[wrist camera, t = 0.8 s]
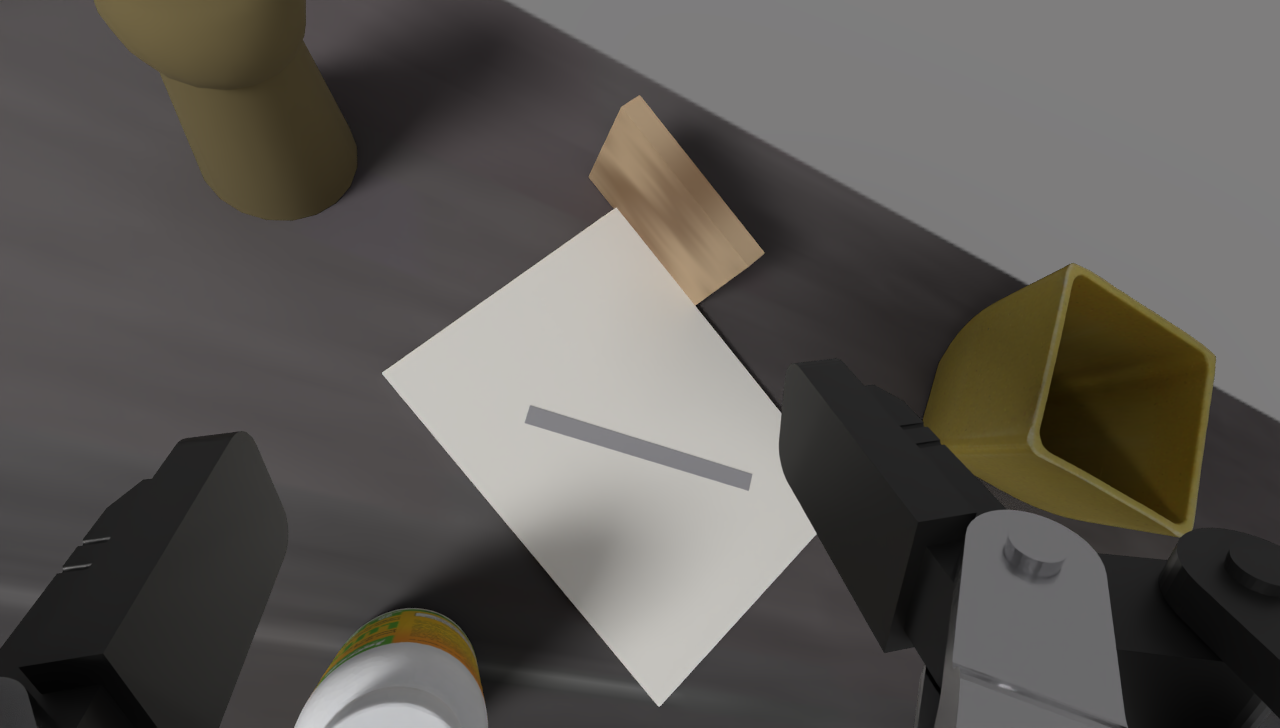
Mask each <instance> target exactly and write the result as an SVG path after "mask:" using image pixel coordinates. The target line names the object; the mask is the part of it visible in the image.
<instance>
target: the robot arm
mask: <svg viewBox="0 0 1280 728" xmlns="http://www.w3.org/2000/svg"><path fill="white" fill-rule="evenodd" d="M779 456H780V462H781V466H782V470H783V473H784V476H785V478H786V480H787V482H788V484H789V486H790V487H791V489H792V491H793V493H794V495H795V496H796V498H797V500H798V502H799V503H800V505H801V507H802V509H803V510H804V512H805V514H806V516H807V517H808V519H809V521H810V523H811V525H812V526H813V528H814V530H815V532H816V533H817V535H818V537H819V539H820V540H821V542H822V544H823V546H824V547H825V549H826V551H827V553H828V555H829V556H830V558H831V560H832V562H833V563H834V565H835V567H836V569H837V570H838V572H839V574H840V576H841V577H842V579H843V581H844V583H845V585H846V586H847V588H848V590H849V592H850V593H851V595H852V597H853V599H854V600H855V602H856V604H857V606H858V608H859V609H860V611H861V613H862V615H863V616H864V618H865V620H866V622H867V623H868V625H869V627H870V629H871V630H872V632H873V634H874V636H875V638H876V639H877V641H878V643H879V645H880V646H881V648H882V650H883V652H884V653H887V652H892V651H897V650H902V649H907V648H912V647H915V649H916V650H917V652H918V654H919V655H920V657H921V658H922V660H923V662H924V663H925V664H924V667H923V671H922V674H921V678H920V684H919V691H918V698H917V705H916V711H915V718H914V725H913V728H1258V727H1259V726H1260V725H1261V724H1262V722H1263V721H1264V720H1265V719H1266V717H1267V716H1268V715H1269V714H1270V712H1271V711H1273V712H1274V713H1275V714H1276V715H1277V716H1278V717H1279V718H1280V546H1278V545H1276V544H1274V543H1271V542H1269V541H1267V540H1264V539H1261V538H1259V537H1256V536H1253V535H1250V534H1246V533H1242V532H1238V531H1233V530H1228V529H1220V528H1201V529H1196V530H1192V531H1189V532H1187V533H1185V534H1184V535H1183V536H1182V537H1180V539H1179V541H1178V543H1177V544H1176V546H1175V548H1174V550H1173V552H1172V554H1171V555H1170V557H1169V559H1168V560H1161V559H1150V558H1140V557H1130V556H1120V555H1109V554H1099V553H1096V552H1095V550H1094V549H1093V548H1092V547H1091V546H1090V545H1089V544H1088V543H1087V542H1086V541H1085V540H1084V539H1082V538H1081V537H1080V536H1079V535H1077V534H1076V533H1074V532H1073V531H1071V530H1070V529H1068V528H1067V527H1065V526H1063V525H1061V524H1059V523H1057V522H1055V521H1053V520H1050V519H1048V518H1045V517H1043V516H1039V515H1036V514H1033V513H1028V512H1024V511H1017V510H1007V509H1006V508H1005V507H1004V506H1003V505H1002V504H1001V503H1000V502H999V501H998V500H997V499H996V498H995V497H994V496H993V495H992V494H991V493H990V491H989V490H988V489H987V488H986V487H985V486H984V485H983V484H982V483H981V482H980V481H979V480H978V479H977V478H976V477H975V476H974V475H973V474H972V473H971V472H970V470H969V469H968V468H967V467H966V466H965V465H964V464H963V463H962V462H961V461H960V460H959V459H958V458H957V457H956V456H955V455H954V454H953V453H952V452H951V451H950V449H949V448H948V447H947V446H946V445H941V443H940V439H939V438H938V437H937V436H936V435H935V434H934V433H933V432H932V431H931V430H930V428H929V427H924V422H923V421H922V420H921V419H920V418H919V417H918V416H917V415H916V414H915V413H914V412H913V411H912V410H911V409H910V407H909V406H908V405H907V404H906V403H905V402H904V401H902V400H900V399H899V398H897V397H895V396H893V395H892V394H890V393H888V392H886V391H884V390H883V389H881V388H879V387H877V386H875V385H868V386H864V385H863V384H862V383H861V382H860V381H859V380H858V378H857V377H856V376H855V375H854V374H853V373H852V372H851V371H850V369H849V368H848V367H847V366H846V365H845V364H844V363H843V362H842V361H841V360H839V359H836V358H835V359H827V360H819V361H811V362H803V363H795V364H791V365H789V367H788V369H787V371H786V375H785V383H784V393H783V403H782V414H781V424H780V434H779ZM287 543H288V524H287V518H286V514H285V511H284V508H283V506H282V504H281V501H280V499H279V497H278V494H277V492H276V490H275V487H274V485H273V483H272V480H271V478H270V476H269V473H268V471H267V469H266V466H265V464H264V462H263V459H262V457H261V455H260V452H259V450H258V447H257V445H256V443H255V441H254V440H253V438H252V437H251V436H250V435H249V434H248V433H246V432H243V431H241V432H232V433H224V434H216V435H208V436H200V437H192V438H185V439H182V440H181V441H179V442H178V443H177V445H176V446H175V447H174V449H173V450H172V451H171V453H170V454H169V456H168V457H167V458H166V460H165V461H164V463H163V464H162V465H161V467H160V468H159V470H158V471H157V472H156V474H155V475H154V477H153V478H152V479H146V480H142V481H141V482H140V483H138V484H137V485H136V486H135V487H133V488H132V489H131V490H130V491H128V492H127V493H126V494H124V495H123V496H122V497H121V498H119V499H118V500H117V501H115V502H114V503H113V504H112V505H110V506H109V507H108V508H106V510H105V511H104V512H103V514H102V515H101V516H100V518H99V519H98V520H97V522H96V523H95V524H94V526H93V527H92V528H91V530H90V531H89V532H88V534H87V535H86V536H85V537H84V539H83V546H78V547H77V548H76V549H75V551H74V552H73V553H72V555H71V556H70V557H69V559H68V560H67V561H66V563H65V564H64V565H63V572H62V573H59V574H57V575H56V576H55V577H54V578H53V580H52V581H51V582H50V584H49V585H48V586H47V588H46V589H45V590H44V592H43V593H42V594H41V596H40V597H39V598H38V600H37V601H36V602H35V604H34V605H33V606H32V608H31V609H30V610H29V612H28V613H27V614H26V615H25V617H24V618H23V619H22V621H21V622H20V623H19V625H18V626H17V627H16V629H15V630H14V631H13V633H12V634H11V635H10V637H9V638H8V639H7V641H6V642H5V643H4V645H3V646H2V647H1V649H0V728H219V726H220V723H221V721H222V718H223V716H224V713H225V710H226V708H227V705H228V703H229V700H230V697H231V695H232V692H233V690H234V687H235V684H236V682H237V679H238V676H239V674H240V671H241V669H242V666H243V663H244V661H245V658H246V656H247V653H248V650H249V648H250V645H251V643H252V640H253V637H254V635H255V632H256V629H257V627H258V624H259V622H260V619H261V616H262V614H263V611H264V609H265V606H266V603H267V601H268V598H269V596H270V593H271V590H272V588H273V585H274V582H275V580H276V577H277V575H278V572H279V569H280V567H281V564H282V562H283V559H284V556H285V553H286V549H287Z"/></svg>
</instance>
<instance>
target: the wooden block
mask: <svg viewBox="0 0 1280 728" xmlns="http://www.w3.org/2000/svg"><path fill="white" fill-rule="evenodd" d="M589 178H590V180H591V181H592V182H593V183H594V185H595V186H596V187H597V188H598V190H599V191H600V192H601V193H602V195H603V196H604V197H605V198H606V200H607V201H608V202H609V203H610V205H611V206H612V207H613V208H614V209H615V208H616V207H617V209H618V210H619V211H620V212H621V214H622V215H623V216H624V217H625V219H626V220H627V221H628V222H629V224H630V225H631V226H632V227H633V229H634V230H635V231H636V232H637V234H638V235H639V236H640V237H641V239H642V240H643V241H644V242H645V244H646V245H647V246H648V247H649V249H650V250H651V251H652V252H653V254H654V255H655V256H656V257H657V259H658V260H659V261H660V262H661V264H662V265H663V266H664V267H665V269H666V270H667V271H668V272H669V274H670V275H671V276H672V277H673V279H674V280H675V281H676V282H677V284H678V285H679V286H680V287H681V289H682V290H683V291H684V292H685V294H686V295H687V296H688V297H689V299H690V300H691V301H692V302H693V304H694V305H697V304H698V303H700V302H701V301H702V300H704V299H705V298H706V297H708V296H709V295H711V294H712V293H713V292H715V291H716V290H717V289H719V288H720V287H721V286H723V285H724V284H726V283H727V282H728V281H730V280H731V279H732V278H734V277H735V276H737V275H738V274H739V273H741V272H742V271H743V270H745V269H746V268H747V267H749V266H750V265H751V264H752V263H754V262H755V261H756V260H757V259H758V258H760V257H761V256H762V255H763V254H764V251H763V250H762V249H761V248H760V246H759V245H758V244H757V242H756V241H755V240H754V239H753V237H752V236H751V235H750V234H749V232H748V231H747V230H746V229H745V227H744V226H743V225H742V224H741V222H740V221H739V220H738V219H737V217H736V216H735V215H734V213H733V212H732V211H731V210H730V208H729V207H728V206H727V205H726V203H725V202H724V201H723V200H722V198H721V197H720V196H719V195H718V193H717V192H716V191H715V189H714V188H713V187H712V186H711V184H710V183H709V182H708V181H707V179H706V178H705V177H704V176H703V174H702V173H701V172H700V171H699V169H698V168H697V167H696V165H695V164H694V163H693V162H692V160H691V159H690V158H689V157H688V155H687V154H686V153H685V152H684V150H683V149H682V148H681V147H680V145H679V144H678V143H677V141H676V140H675V139H674V138H673V136H672V135H671V134H670V133H669V131H668V130H667V129H666V128H665V126H664V125H663V124H662V123H661V121H660V120H659V119H658V118H657V116H656V115H655V114H654V112H653V111H652V110H651V109H650V107H649V106H648V105H647V104H646V102H645V101H644V100H643V99H642V97H641V96H640V95H639V96H638V97H636V98H634V99H633V100H631V101H630V102H628V103H627V104H625V105H624V106H622V107H621V109H620V111H619V113H618V115H617V117H616V119H615V121H614V124H613V126H612V128H611V130H610V132H609V134H608V136H607V139H606V141H605V143H604V145H603V147H602V149H601V151H600V153H599V156H598V158H597V160H596V162H595V164H594V166H593V168H592V171H591V173H590V175H589Z"/></svg>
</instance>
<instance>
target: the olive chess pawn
mask: <svg viewBox="0 0 1280 728" xmlns="http://www.w3.org/2000/svg"><path fill="white" fill-rule="evenodd" d="M94 2H95V5H96V8H97V11H98V13H99V14H100V16H101V17H102V18H103V20H104V21H105V22H106V24H107V25H108V26H109V28H110V29H111V30H112V31H113V32H114V34H115V35H116V36H117V37H118V38H119V40H120V41H121V42H122V43H123V44H124V45H125V47H126V48H127V49H128V50H129V51H130V52H131V53H133V54H134V55H135V56H137V57H138V58H139V59H141V60H142V61H143V62H145V63H146V64H148V65H149V66H151V67H152V68H154V69H156V70H157V71H159V72H160V75H161V77H162V79H163V82H164V84H165V87H166V89H167V91H168V94H169V96H170V99H171V101H172V103H173V106H174V108H175V111H176V113H177V115H178V118H179V120H180V123H181V125H182V127H183V130H184V132H185V135H186V137H187V139H188V142H189V144H190V147H191V149H192V151H193V154H194V156H195V158H196V161H197V163H198V166H199V168H200V170H201V173H202V175H203V178H204V180H205V181H206V183H207V184H208V185H209V186H210V187H211V188H212V190H213V191H214V192H215V193H216V194H217V196H218V197H219V198H220V199H221V200H223V201H225V202H226V203H228V204H229V205H231V206H232V207H234V208H236V209H237V210H239V211H240V212H242V213H246V214H249V215H252V216H256V217H259V218H262V219H266V220H296V219H300V218H304V217H308V216H312V215H316V214H318V213H320V212H321V211H323V210H325V209H326V208H328V207H330V206H331V205H333V204H335V203H336V202H337V201H338V200H339V199H340V198H341V197H342V195H343V194H344V193H345V192H346V191H347V190H348V188H349V187H350V186H351V183H352V180H353V177H354V175H355V172H356V169H357V146H356V143H355V141H354V138H353V136H352V133H351V131H350V128H349V126H348V124H347V122H346V120H345V118H344V117H343V115H342V113H341V111H340V109H339V107H338V105H337V103H336V102H335V100H334V98H333V96H332V94H331V92H330V90H329V88H328V86H327V85H326V83H325V81H324V79H323V77H322V75H321V73H320V71H319V70H318V68H317V66H316V64H315V62H314V60H313V58H312V56H311V54H310V53H309V51H308V49H307V47H306V45H305V43H304V41H303V38H304V34H305V26H306V0H94Z"/></svg>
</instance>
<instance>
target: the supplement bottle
mask: <svg viewBox="0 0 1280 728" xmlns="http://www.w3.org/2000/svg"><path fill="white" fill-rule="evenodd" d="M294 728H488V717H487V711H486V704H485V699H484V695H483V689H482V685H481V681H480V675H479V670H478V664H477V659H476V655H475V652H474V650H473V647H472V645H471V643H470V641H469V639H468V638H467V636H466V634H465V633H464V632H463V631H462V630H461V628H460V627H459V626H458V625H457V624H456V623H454V622H453V621H452V620H451V619H449V618H448V617H446V616H444V615H442V614H440V613H437V612H434V611H431V610H427V609H421V608H405V609H398V610H394V611H391V612H387V613H385V614H382V615H380V616H378V617H376V618H374V619H372V620H371V621H369V622H367V623H366V624H365V625H363V626H362V627H361V628H360V629H358V630H357V631H356V632H355V633H354V634H353V635H352V636H351V637H350V638H349V639H348V640H347V642H346V643H345V644H344V645H343V647H342V648H341V649H340V651H339V652H338V654H337V655H336V657H335V658H334V660H333V662H332V663H331V664H330V666H329V667H328V669H327V671H326V672H325V674H324V675H323V677H322V679H321V680H320V682H319V683H318V685H317V687H316V688H315V690H314V691H313V693H312V694H311V696H310V697H309V699H308V701H307V702H306V704H305V706H304V708H303V710H302V711H301V714H300V716H299V718H298V720H297V722H296V725H295V727H294Z"/></svg>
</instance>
